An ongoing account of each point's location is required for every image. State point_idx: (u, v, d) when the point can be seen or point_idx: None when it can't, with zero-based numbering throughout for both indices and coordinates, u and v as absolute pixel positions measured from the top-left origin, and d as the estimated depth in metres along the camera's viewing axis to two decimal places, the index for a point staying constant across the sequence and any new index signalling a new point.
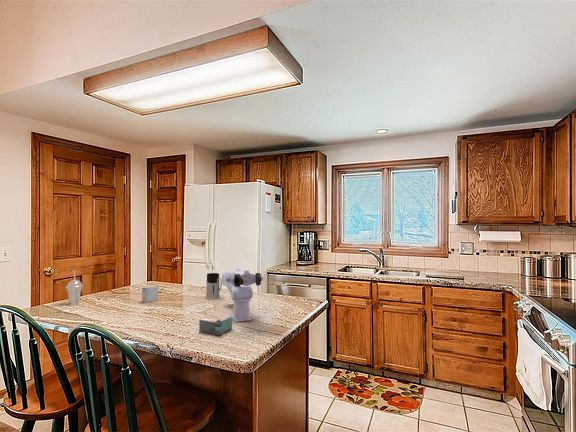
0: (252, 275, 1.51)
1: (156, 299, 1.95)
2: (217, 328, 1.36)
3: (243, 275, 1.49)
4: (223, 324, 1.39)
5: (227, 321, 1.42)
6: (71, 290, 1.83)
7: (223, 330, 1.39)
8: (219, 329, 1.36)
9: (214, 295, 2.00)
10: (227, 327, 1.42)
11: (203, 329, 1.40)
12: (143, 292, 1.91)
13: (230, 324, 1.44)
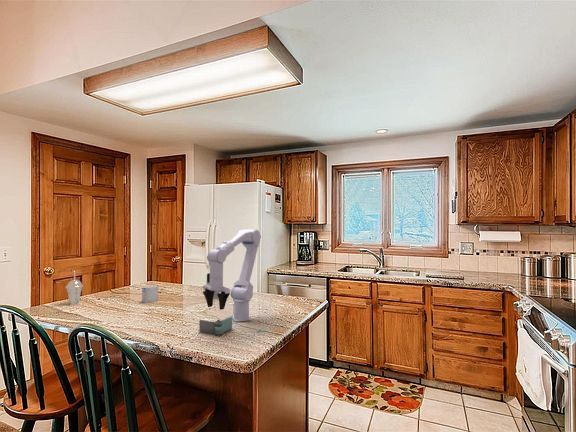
0: None
1: (156, 299, 1.95)
2: (217, 328, 1.36)
3: None
4: (223, 324, 1.39)
5: (227, 321, 1.42)
6: (71, 290, 1.83)
7: (223, 330, 1.39)
8: (219, 329, 1.36)
9: (214, 295, 2.00)
10: (227, 327, 1.42)
11: (203, 329, 1.40)
12: (143, 292, 1.91)
13: (230, 324, 1.44)
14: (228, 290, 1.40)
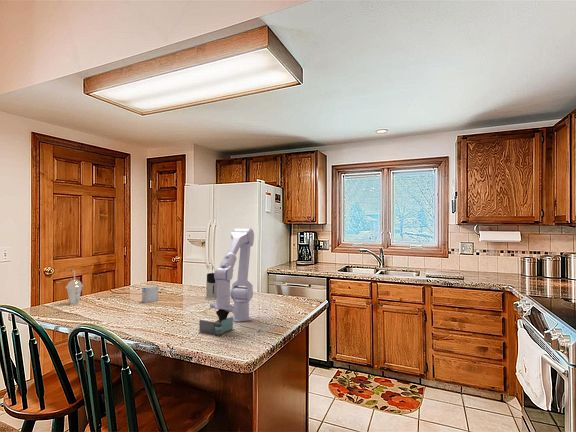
0: None
1: (156, 299, 1.95)
2: (217, 328, 1.36)
3: None
4: (223, 324, 1.39)
5: (227, 321, 1.42)
6: (71, 290, 1.83)
7: (223, 330, 1.39)
8: (219, 329, 1.36)
9: (214, 295, 2.00)
10: (227, 327, 1.42)
11: (203, 329, 1.40)
12: (143, 292, 1.91)
13: (231, 324, 1.44)
14: (235, 309, 1.38)
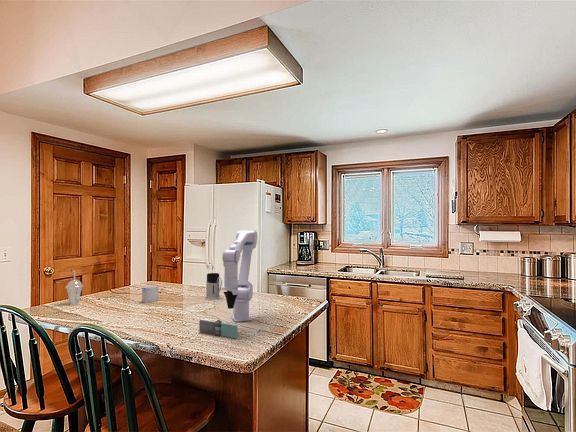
0: None
1: (156, 299, 1.95)
2: None
3: None
4: (223, 327, 1.35)
5: (229, 327, 1.34)
6: (71, 290, 1.83)
7: (223, 334, 1.35)
8: (215, 329, 1.36)
9: (214, 295, 2.00)
10: (229, 334, 1.34)
11: (203, 329, 1.40)
12: (143, 292, 1.91)
13: (233, 333, 1.33)
14: (236, 291, 1.37)
